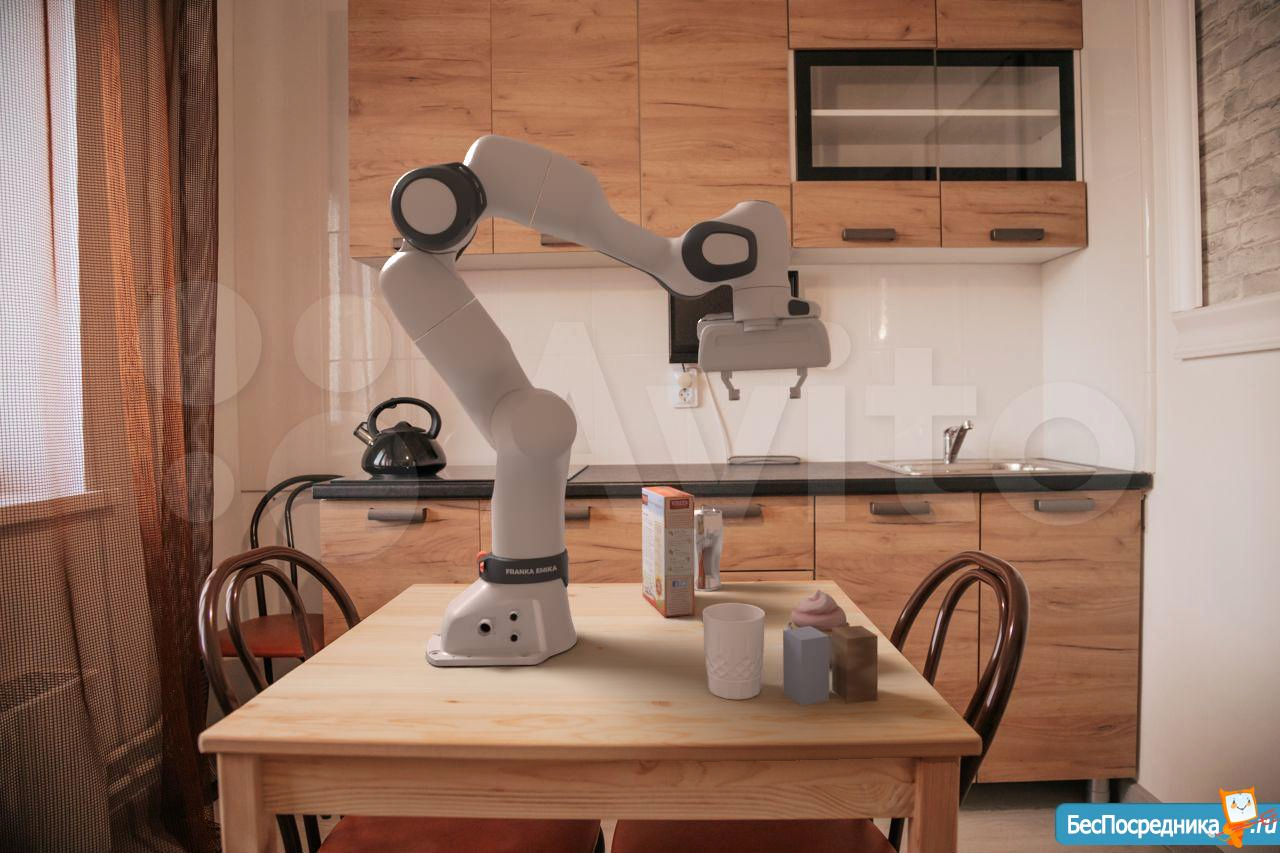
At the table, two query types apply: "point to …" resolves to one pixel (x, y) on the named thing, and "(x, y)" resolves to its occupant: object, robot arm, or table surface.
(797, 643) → the slate-blue block
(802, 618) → the cupcake
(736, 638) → the white cup
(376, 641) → the table surface
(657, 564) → the cracker box
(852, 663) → the walnut block
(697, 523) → the beer glass
